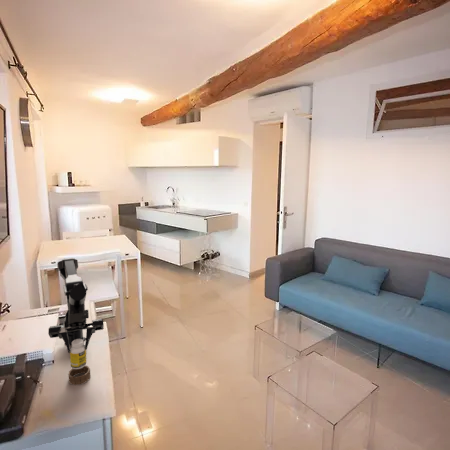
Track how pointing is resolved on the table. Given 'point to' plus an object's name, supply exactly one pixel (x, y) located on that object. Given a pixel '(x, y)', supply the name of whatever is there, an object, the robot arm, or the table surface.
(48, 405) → the table surface
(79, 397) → the table surface
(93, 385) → the table surface
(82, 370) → the holder
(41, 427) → the table surface
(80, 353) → the supplement bottle
